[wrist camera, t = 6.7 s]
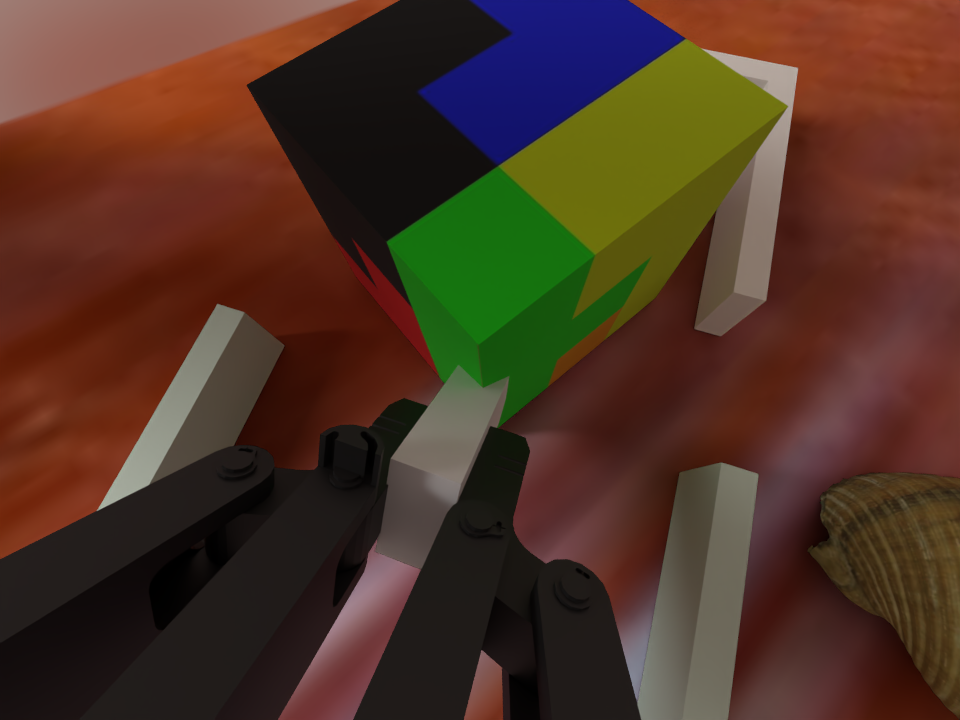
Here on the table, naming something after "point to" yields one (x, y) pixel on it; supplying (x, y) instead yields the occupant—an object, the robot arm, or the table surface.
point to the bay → (747, 212)
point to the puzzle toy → (514, 170)
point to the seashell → (901, 563)
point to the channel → (688, 555)
